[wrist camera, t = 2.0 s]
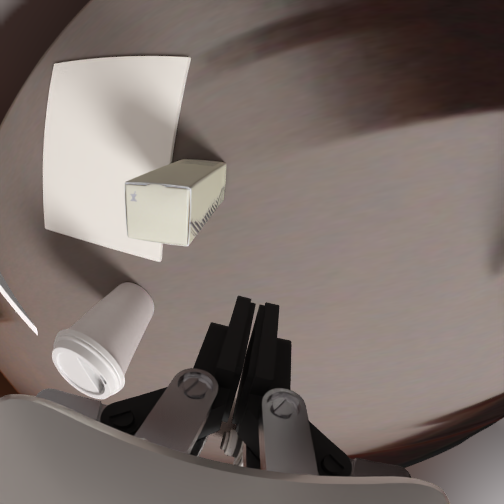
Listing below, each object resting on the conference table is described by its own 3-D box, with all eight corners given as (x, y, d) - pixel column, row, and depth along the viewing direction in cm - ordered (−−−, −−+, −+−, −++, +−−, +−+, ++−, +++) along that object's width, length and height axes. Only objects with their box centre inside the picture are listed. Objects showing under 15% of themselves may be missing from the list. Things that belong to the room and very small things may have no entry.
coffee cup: (162, 336, 41) (121, 414, 27) (108, 316, 41) (56, 382, 28) (166, 284, 37) (112, 364, 23) (105, 264, 37) (38, 327, 23)
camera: (233, 405, 46) (223, 452, 37) (278, 415, 46) (273, 462, 37) (220, 438, 52) (211, 477, 43) (258, 446, 52) (252, 485, 43)
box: (180, 196, 32) (122, 239, 20) (182, 157, 30) (119, 180, 18) (226, 201, 31) (189, 249, 20) (230, 161, 30) (190, 186, 18)
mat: (56, 64, 26) (54, 63, 25) (190, 58, 25) (189, 57, 25) (47, 227, 36) (45, 228, 35) (161, 259, 35) (159, 261, 35)
